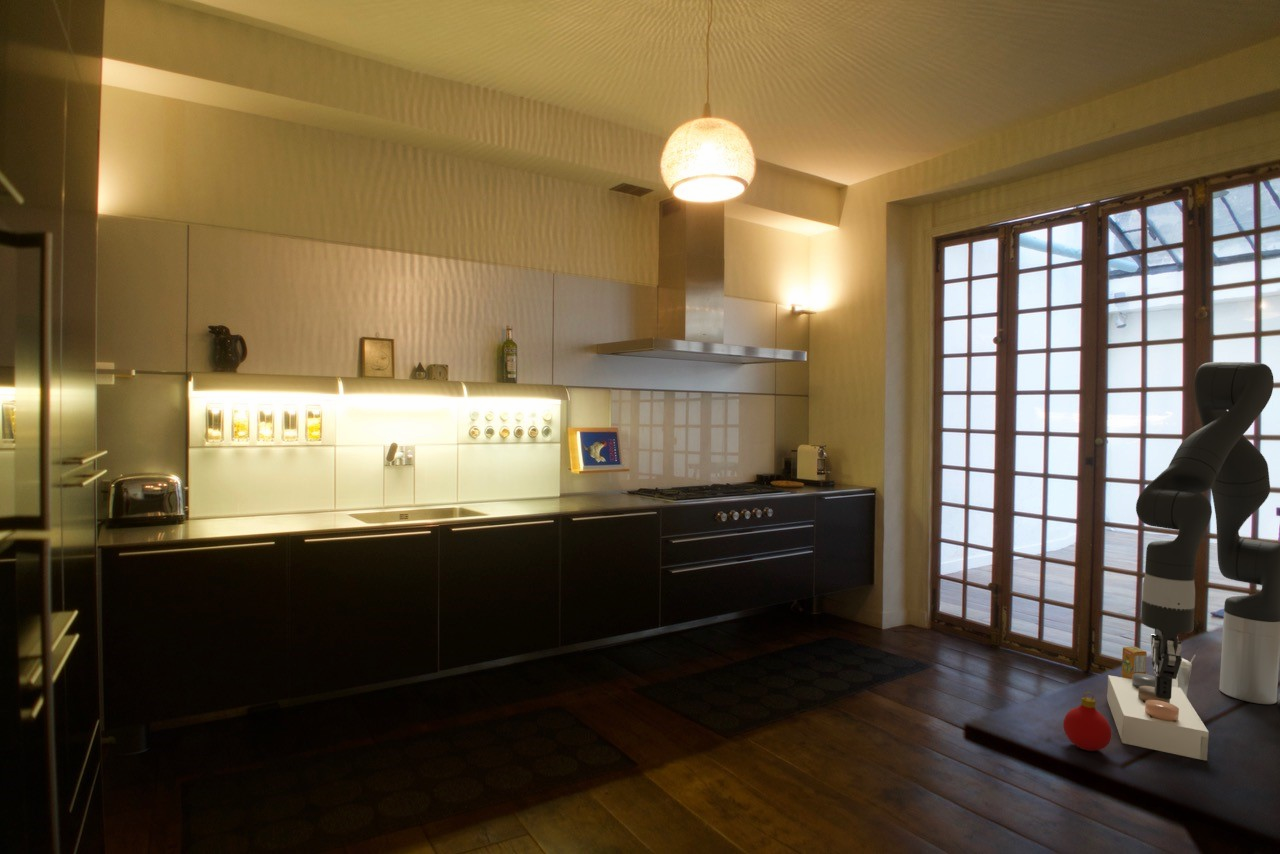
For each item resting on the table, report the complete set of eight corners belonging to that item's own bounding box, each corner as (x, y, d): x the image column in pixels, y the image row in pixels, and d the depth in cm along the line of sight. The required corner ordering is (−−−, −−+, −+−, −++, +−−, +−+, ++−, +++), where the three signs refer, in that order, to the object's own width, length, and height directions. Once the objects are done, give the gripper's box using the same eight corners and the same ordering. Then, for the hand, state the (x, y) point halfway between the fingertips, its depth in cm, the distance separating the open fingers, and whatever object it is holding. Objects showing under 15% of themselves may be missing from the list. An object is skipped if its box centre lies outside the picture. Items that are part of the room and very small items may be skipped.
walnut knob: (1134, 716, 135) (1136, 683, 135) (1165, 722, 133) (1167, 689, 133) (1138, 726, 131) (1140, 692, 131) (1170, 732, 129) (1172, 698, 129)
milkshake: (1198, 707, 142) (1201, 658, 142) (1169, 704, 143) (1171, 655, 143) (1186, 698, 146) (1189, 651, 146) (1157, 695, 148) (1160, 648, 147)
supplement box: (1118, 692, 148) (1121, 646, 148) (1133, 692, 148) (1136, 646, 148) (1130, 699, 145) (1133, 651, 145) (1146, 699, 145) (1149, 651, 145)
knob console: (1106, 699, 145) (1108, 675, 144) (1178, 712, 139) (1180, 687, 139) (1122, 742, 125) (1123, 715, 125) (1206, 760, 120) (1208, 731, 119)
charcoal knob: (1128, 702, 142) (1130, 671, 142) (1157, 708, 140) (1159, 676, 139) (1132, 711, 138) (1134, 679, 137) (1162, 717, 135) (1164, 684, 135)
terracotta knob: (1141, 732, 129) (1143, 697, 128) (1173, 738, 126) (1175, 703, 126) (1145, 742, 124) (1148, 707, 124) (1179, 749, 122) (1181, 713, 122)
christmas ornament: (1093, 739, 126) (1096, 684, 126) (1120, 759, 119) (1123, 701, 119) (1053, 738, 126) (1056, 683, 126) (1078, 758, 119) (1081, 700, 119)
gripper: (1203, 614, 117) (1197, 716, 118) (1185, 595, 129) (1180, 688, 129) (1148, 607, 120) (1143, 706, 121) (1136, 589, 132) (1131, 680, 133)
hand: (1162, 696), depth 125 cm, fingers closed
